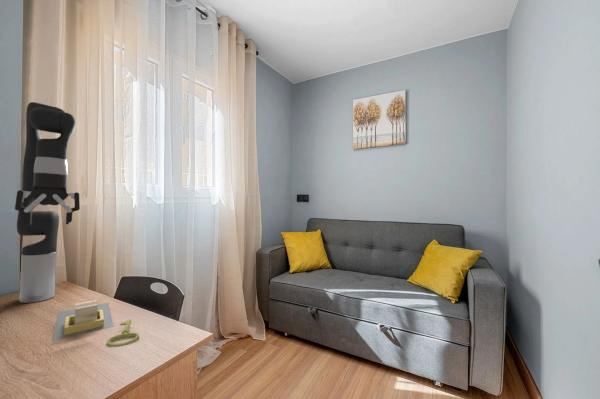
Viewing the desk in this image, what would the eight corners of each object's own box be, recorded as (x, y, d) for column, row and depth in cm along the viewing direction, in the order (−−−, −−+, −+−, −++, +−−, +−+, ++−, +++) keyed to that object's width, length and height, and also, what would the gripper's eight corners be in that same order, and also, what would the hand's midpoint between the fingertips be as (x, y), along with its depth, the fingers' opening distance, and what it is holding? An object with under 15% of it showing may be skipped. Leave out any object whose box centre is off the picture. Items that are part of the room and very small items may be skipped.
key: (130, 325, 78) (130, 318, 78) (140, 341, 69) (141, 333, 69) (101, 333, 73) (101, 326, 73) (108, 352, 64) (108, 343, 64)
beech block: (74, 323, 75) (75, 303, 75) (95, 319, 78) (96, 299, 78) (74, 330, 71) (75, 309, 71) (96, 325, 75) (97, 304, 75)
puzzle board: (58, 315, 82) (58, 305, 83) (108, 305, 91) (108, 297, 91) (51, 344, 66) (52, 333, 66) (113, 329, 74) (113, 319, 74)
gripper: (81, 176, 87) (79, 223, 86) (19, 171, 77) (17, 224, 77) (81, 174, 81) (78, 224, 81) (14, 169, 72) (12, 226, 71)
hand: (48, 224), depth 79 cm, fingers open, 8 cm apart
